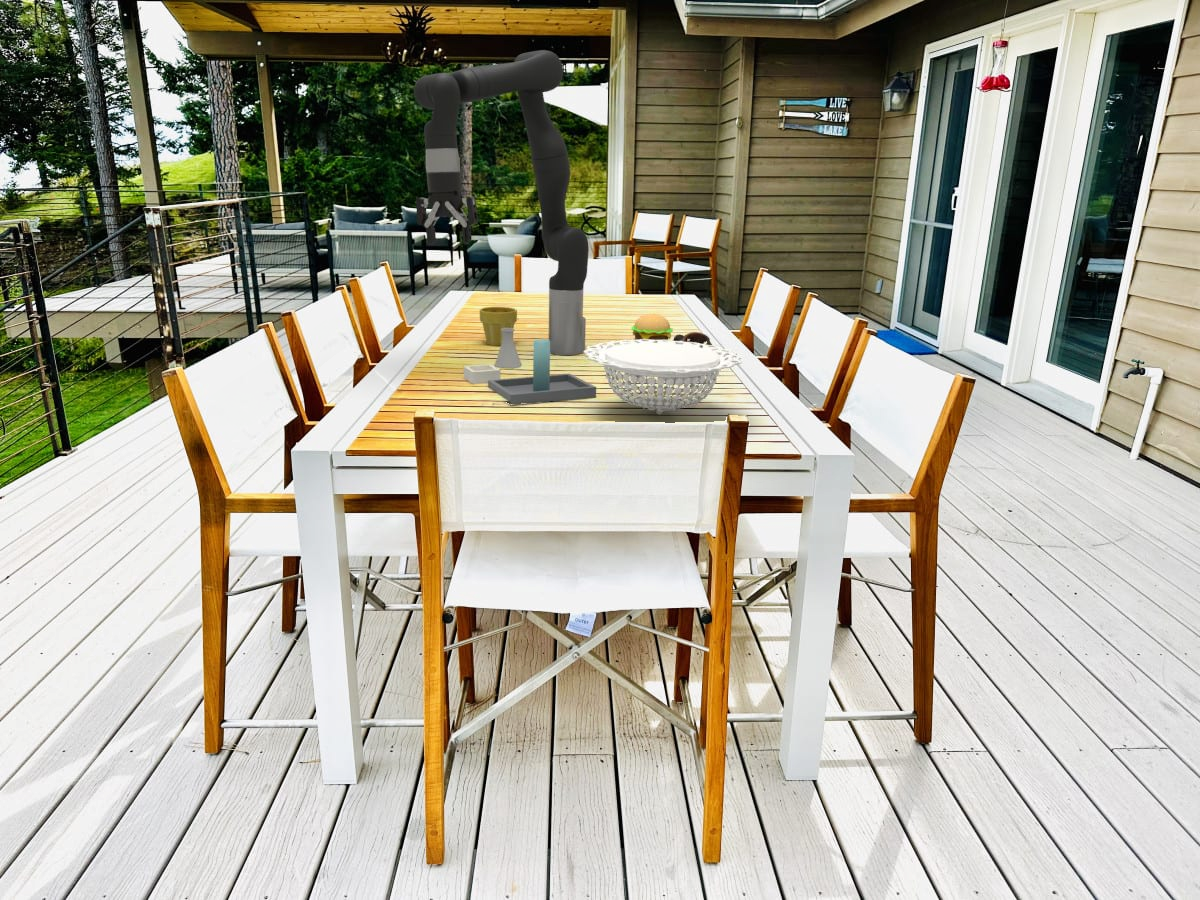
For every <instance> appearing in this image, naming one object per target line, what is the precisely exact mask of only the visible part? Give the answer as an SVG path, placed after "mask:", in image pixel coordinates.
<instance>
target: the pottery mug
mask: <svg viewBox="0 0 1200 900" xmlns="http://www.w3.org/2000/svg"><path fill="white" fill-rule="evenodd" d="M672 341H683V342H696V343H700V344H704V345H713V344H712V342H711V338H710V337H709V336H708V335H707V334H704V333H702V332H699V331H693V332H692V331H691V332H689V333H687V334H685V335H683V334H676V335H675V336H674V337H673V339H672ZM705 343H706V344H705ZM676 344H677V343H676ZM695 345H696V344H695ZM701 348H703V346H701Z"/></svg>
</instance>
